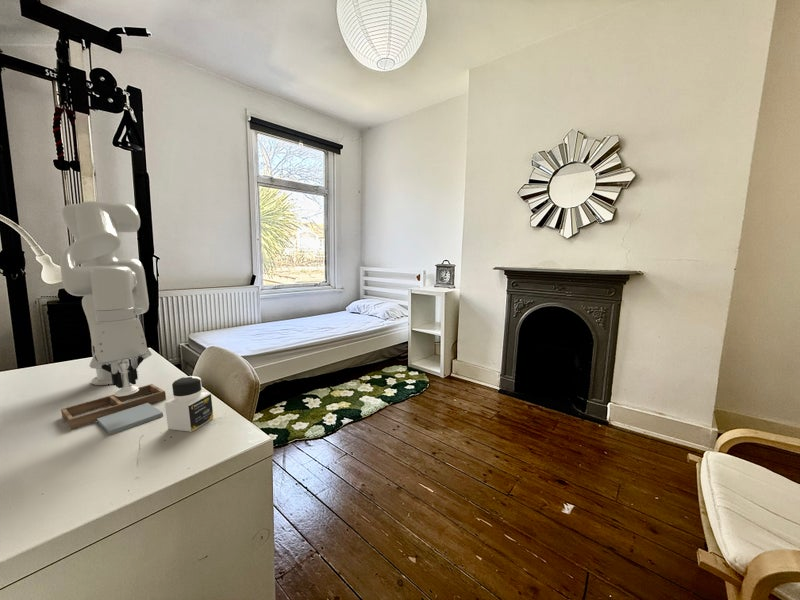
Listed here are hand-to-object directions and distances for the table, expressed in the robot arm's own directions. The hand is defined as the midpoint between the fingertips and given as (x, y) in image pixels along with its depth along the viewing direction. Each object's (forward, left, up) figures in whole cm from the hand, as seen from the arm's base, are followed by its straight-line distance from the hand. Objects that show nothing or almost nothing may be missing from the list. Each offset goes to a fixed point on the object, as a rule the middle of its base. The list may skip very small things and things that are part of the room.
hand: (125, 384), depth 84 cm
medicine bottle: (+16, +8, -10) cm, 21 cm away
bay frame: (-12, 0, -10) cm, 15 cm away
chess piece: (0, 0, -2) cm, 2 cm away
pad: (0, 0, -10) cm, 10 cm away
